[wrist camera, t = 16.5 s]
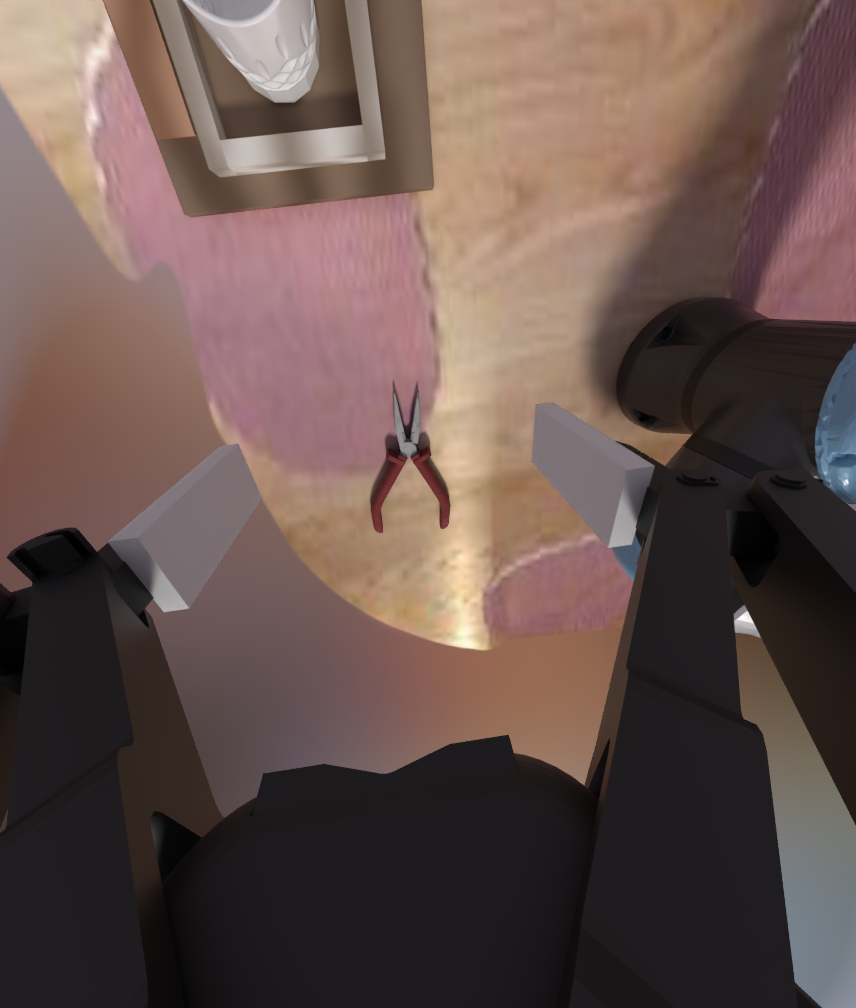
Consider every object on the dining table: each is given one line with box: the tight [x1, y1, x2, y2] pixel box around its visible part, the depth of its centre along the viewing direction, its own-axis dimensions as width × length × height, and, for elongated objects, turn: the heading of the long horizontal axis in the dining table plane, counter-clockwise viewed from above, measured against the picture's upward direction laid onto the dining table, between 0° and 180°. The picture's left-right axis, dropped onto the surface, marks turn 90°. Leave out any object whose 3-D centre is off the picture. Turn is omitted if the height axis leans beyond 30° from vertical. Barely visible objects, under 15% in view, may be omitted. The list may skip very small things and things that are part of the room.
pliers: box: [371, 391, 450, 533], centre depth 44 cm, size 12×20×3 cm, turn 0°
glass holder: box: [103, 0, 434, 217], centre depth 24 cm, size 22×18×3 cm
